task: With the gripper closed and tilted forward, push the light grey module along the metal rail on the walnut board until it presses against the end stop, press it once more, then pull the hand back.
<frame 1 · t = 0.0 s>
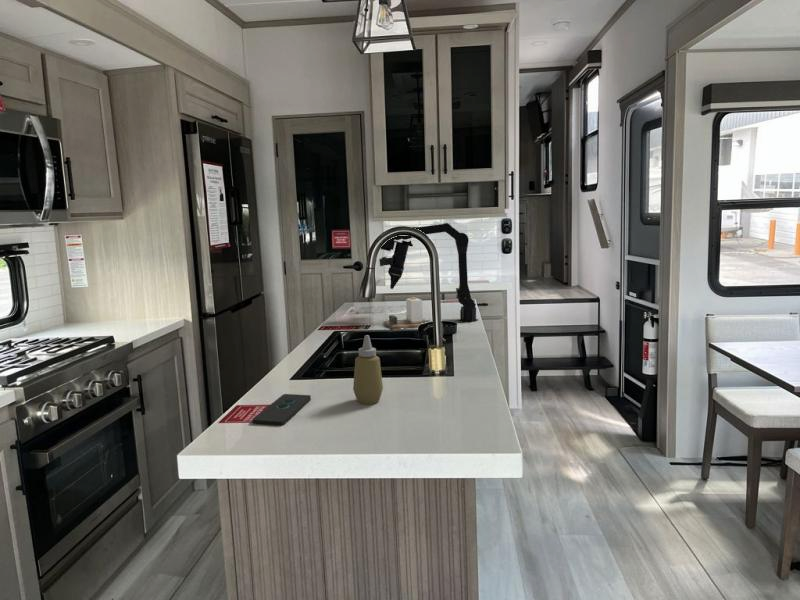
hand: (392, 287, 263), 15 cm above the countertop, tool pointing down, fingers open, 9 cm apart
module: (414, 309, 256), point 7 cm above the countertop, slide at 0.0 cm
squeeze bottle: (368, 401, 156), on the countertop
smart home device: (283, 413, 149), on the countertop
rail board: (407, 325, 256), on the countertop
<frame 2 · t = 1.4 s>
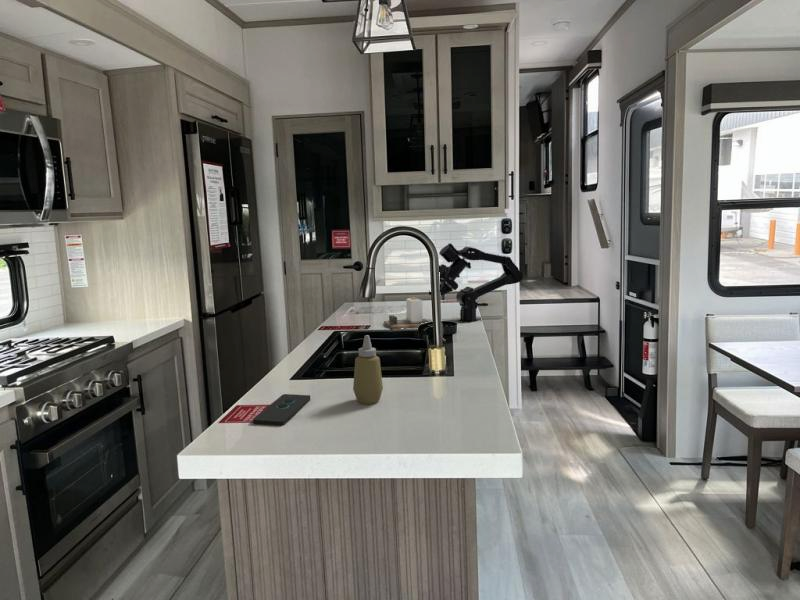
hand: (432, 295, 257), 12 cm above the countertop, tool tilted 45°, fingers open, 8 cm apart
nothing on the countertop moved.
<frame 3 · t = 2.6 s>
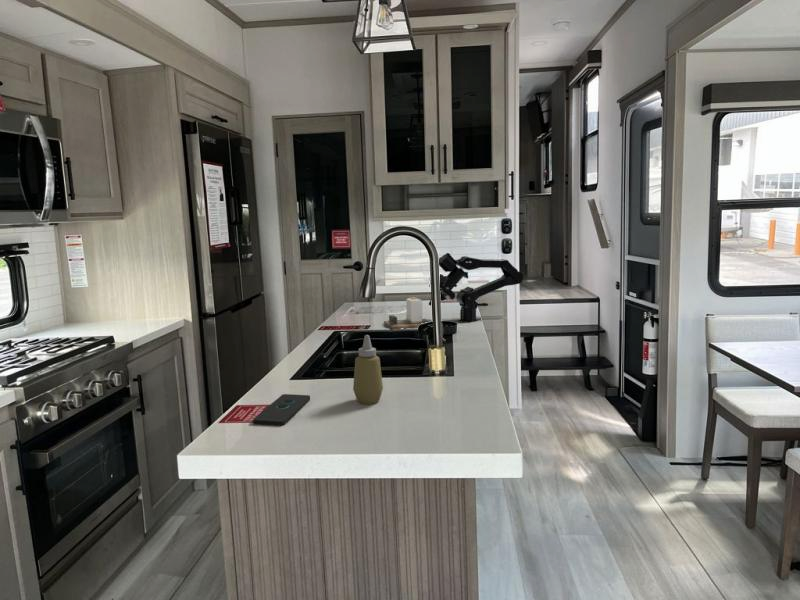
hand: (429, 305, 257), 8 cm above the countertop, tool tilted 45°, fingers closed
nothing on the countertop moved.
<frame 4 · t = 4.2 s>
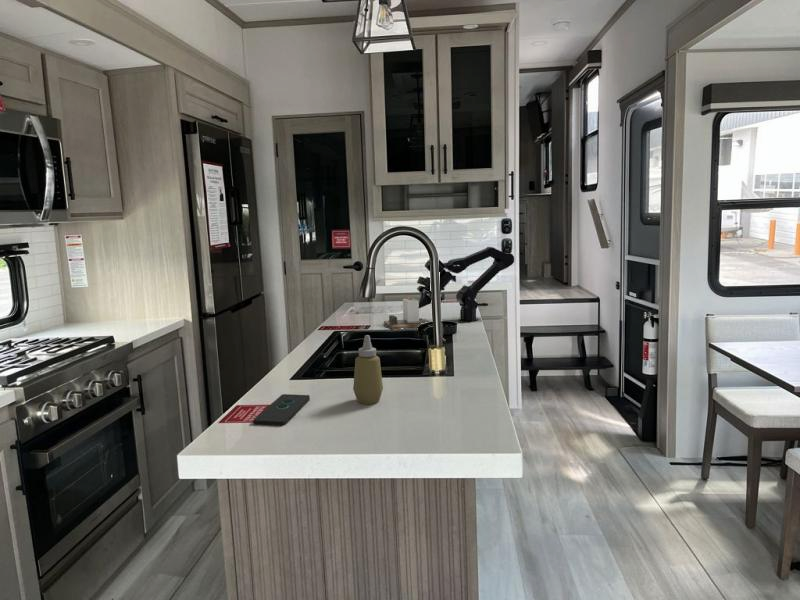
hand: (416, 308, 256), 7 cm above the countertop, tool tilted 45°, fingers closed, pressing on module
module: (410, 309, 255), point 7 cm above the countertop, slide at 1.6 cm, touching gripper
everything else where it was.
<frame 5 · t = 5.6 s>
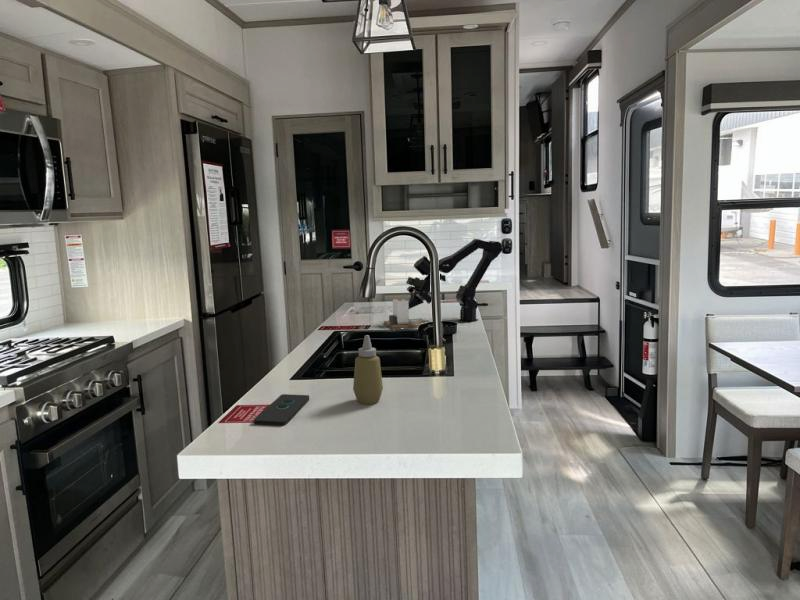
hand: (406, 308, 254), 7 cm above the countertop, tool tilted 45°, fingers closed, pressing on module
module: (400, 310, 254), point 7 cm above the countertop, slide at 6.3 cm, touching gripper, rail board
everything else where it was.
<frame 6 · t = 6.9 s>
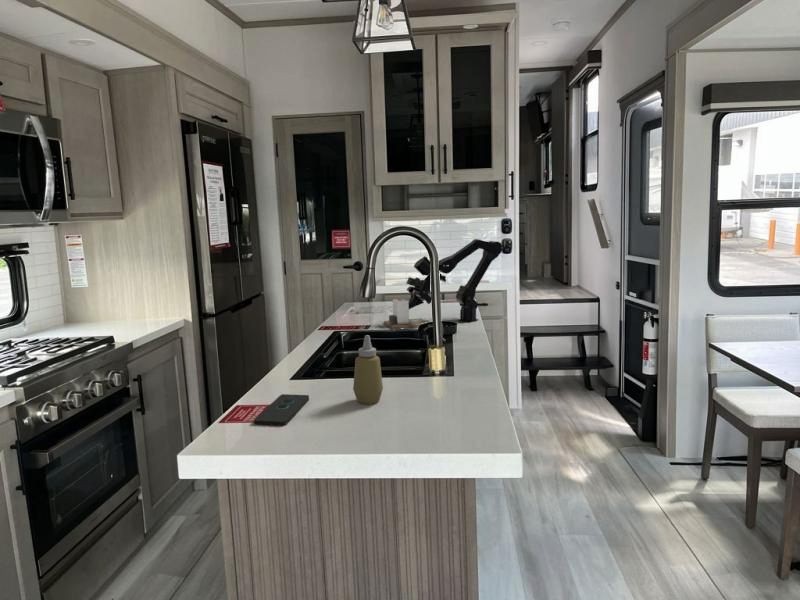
hand: (406, 309, 254), 7 cm above the countertop, tool tilted 45°, fingers closed, pressing on module
module: (400, 310, 254), point 7 cm above the countertop, slide at 6.3 cm, touching gripper, rail board
everything else where it was.
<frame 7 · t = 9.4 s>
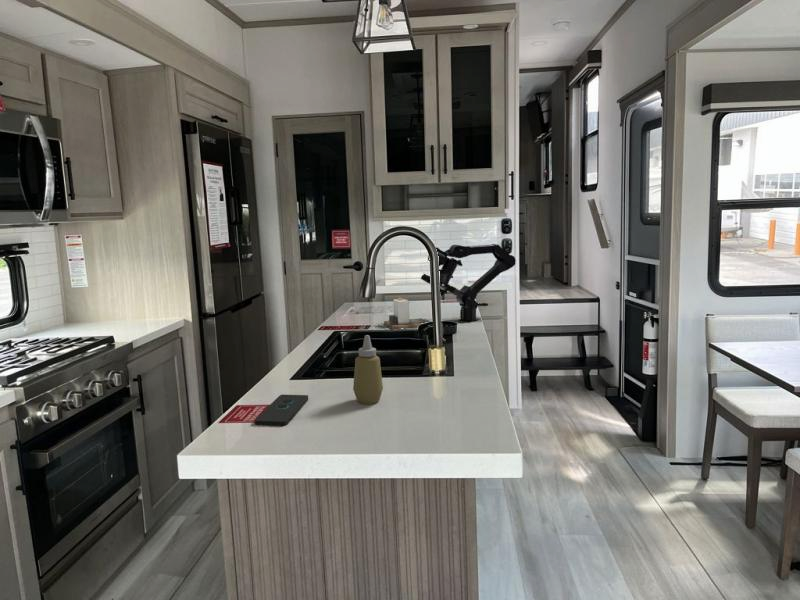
hand: (431, 302, 258), 10 cm above the countertop, tool tilted 30°, fingers closed
module: (401, 310, 254), point 7 cm above the countertop, slide at 6.0 cm
everything else where it was.
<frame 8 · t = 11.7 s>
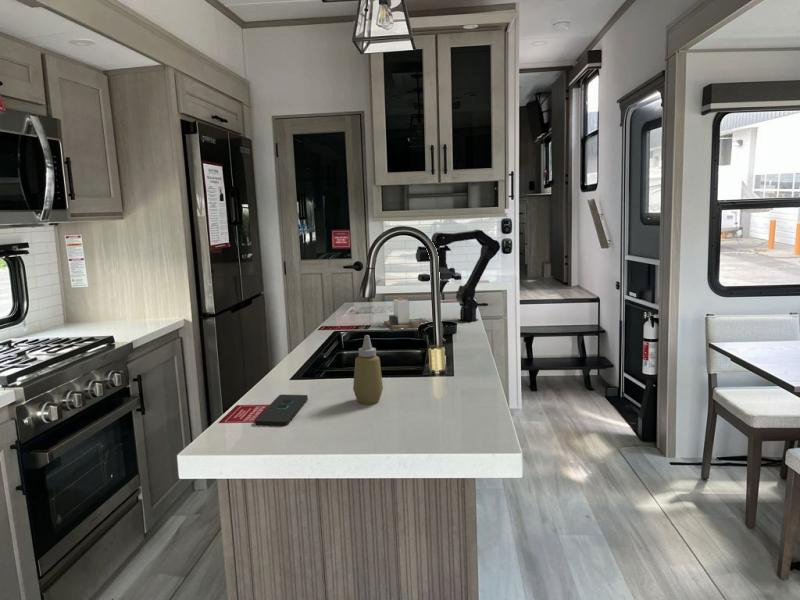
hand: (439, 296, 258), 12 cm above the countertop, tool pointing down, fingers closed
nothing on the countertop moved.
at the end: module slide at 6.0 cm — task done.
